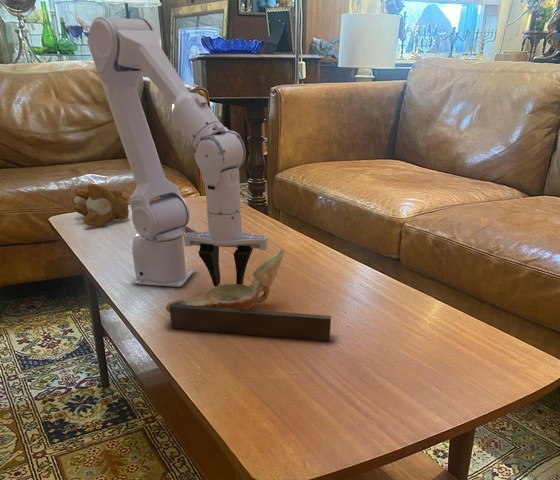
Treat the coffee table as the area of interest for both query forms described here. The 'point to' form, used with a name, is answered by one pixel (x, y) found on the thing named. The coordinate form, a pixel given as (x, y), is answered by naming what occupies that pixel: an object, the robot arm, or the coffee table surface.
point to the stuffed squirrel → (100, 205)
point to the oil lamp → (239, 289)
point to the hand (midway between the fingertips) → (228, 285)
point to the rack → (251, 322)
